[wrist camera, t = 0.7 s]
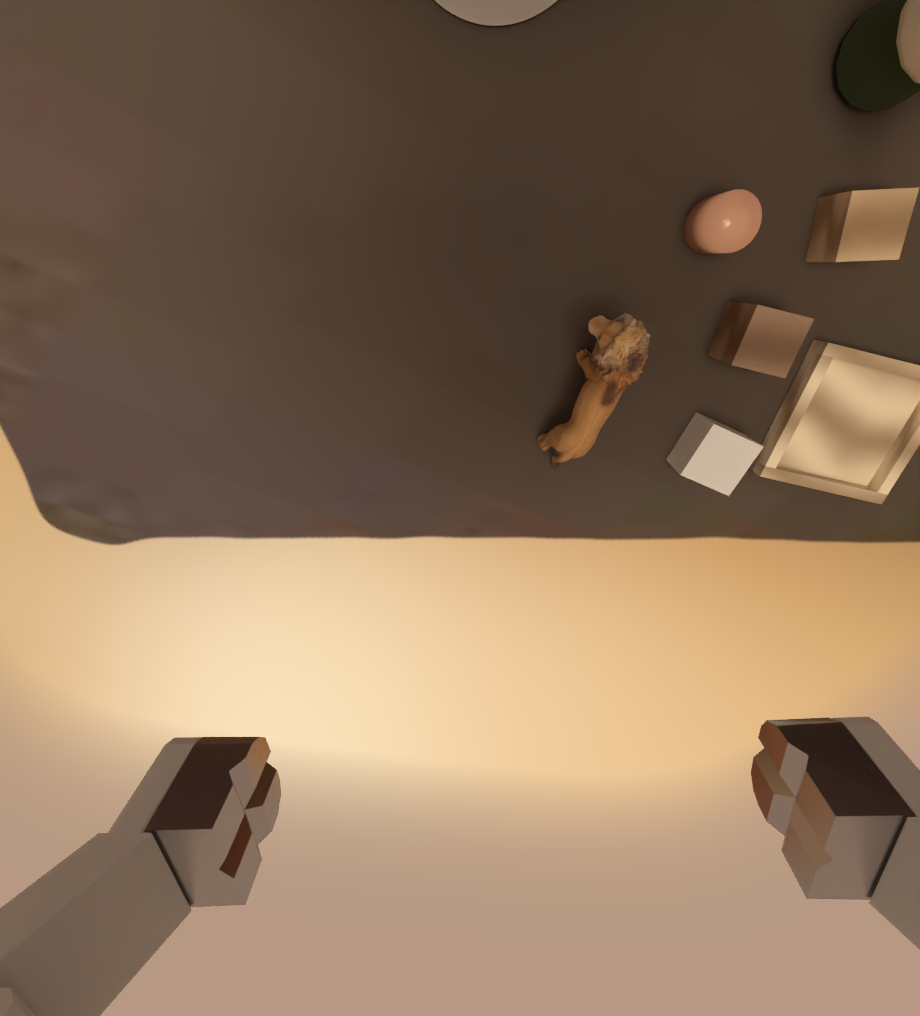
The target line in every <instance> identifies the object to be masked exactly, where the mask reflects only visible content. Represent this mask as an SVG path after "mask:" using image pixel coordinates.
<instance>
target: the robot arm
mask: <svg viewBox="0 0 920 1016" xmlns="http://www.w3.org/2000/svg"><path fill="white" fill-rule="evenodd" d="M435 1H436V2H437V3H438V4H439V5H440V6H442V7H443V8H444V9H446V10H447V11H449V12H450V13H452V14H454V15H455V16H457V17H459V18H462V19H464V20H466V21H469V22H472V23H476V24H481V25H488V26H501V25H509V24H514V23H518V22H521V21H524V20H527V19H529V18H532V17H534V16H536V15H538V14H539V13H541V12H543V11H544V10H546V9H547V8H549V7H550V6H551V5H553V4H554V3H555V2H556V1H558V0H435ZM758 738H759V739H760V741H761V743H762V745H763V746H764V749H763V750H762V751H760V752H759V753H758V754H757V755H756V756H754V758H753V764H752V769H751V776H752V784H753V790H754V793H755V796H756V799H757V802H758V805H759V807H760V809H761V811H762V813H763V815H764V817H765V819H766V821H767V822H768V823H769V824H771V825H772V826H773V827H774V828H776V829H777V830H778V831H779V832H781V833H782V834H783V835H784V842H783V847H782V852H783V854H784V856H785V858H786V860H787V862H788V864H789V865H790V867H791V869H792V871H793V873H794V875H795V877H796V879H797V881H798V882H799V885H800V886H801V888H802V890H803V892H804V894H805V896H806V898H807V899H808V898H809V899H810V898H811V899H813V898H814V899H861V900H863V899H864V900H870V902H869V903H870V904H871V905H872V906H873V907H874V908H875V909H876V910H877V911H878V912H879V913H881V914H882V915H883V916H884V917H885V918H886V919H887V920H888V921H889V922H890V923H891V924H893V925H894V926H895V927H896V928H897V929H898V930H899V931H900V932H901V933H902V934H903V935H905V936H906V937H907V938H908V939H909V940H910V941H911V942H912V943H913V944H914V945H916V946H917V947H918V948H919V949H920V770H919V769H918V768H917V767H916V766H915V764H914V763H913V762H912V761H911V760H910V759H909V758H908V756H907V755H906V754H905V753H904V752H903V751H902V750H901V749H900V747H899V746H898V745H897V744H896V743H895V742H894V741H893V739H892V738H891V737H890V736H889V735H888V734H887V733H886V731H885V730H884V729H883V728H882V727H881V726H880V725H879V724H878V723H877V722H876V721H874V720H873V719H871V718H869V717H852V718H851V717H849V718H832V719H831V718H811V719H788V720H767V721H766V722H765V723H764V724H763V725H762V726H761V729H760V733H759V737H758ZM269 754H270V749H269V746H268V743H267V742H266V738H262V737H202V738H201V737H199V738H197V737H196V738H174V739H172V740H171V741H170V742H168V743H167V744H166V745H165V746H164V747H163V749H162V750H161V752H160V753H159V755H158V756H157V758H156V759H155V761H154V763H153V764H152V766H151V767H150V769H149V770H148V772H147V773H146V775H145V776H144V778H143V780H142V781H141V783H140V784H139V786H138V787H137V789H136V790H135V792H134V793H133V795H132V796H131V798H130V800H129V801H128V803H127V804H126V806H125V807H124V809H123V810H122V812H121V813H120V815H119V816H118V818H117V819H116V821H115V823H114V824H113V826H112V827H111V829H110V830H109V832H108V833H99V834H97V835H96V836H95V837H93V838H92V839H91V840H89V841H88V842H87V843H85V844H84V845H83V846H81V847H80V848H79V849H77V850H76V851H75V852H73V853H72V854H71V855H70V856H68V857H67V858H66V859H64V860H63V861H62V862H60V863H59V864H58V865H57V866H55V867H54V868H53V869H51V870H50V871H49V872H47V873H46V874H45V875H43V876H42V877H41V878H39V879H38V880H37V881H36V882H34V883H33V884H32V885H30V886H29V887H28V888H26V889H25V890H24V891H23V892H21V893H20V894H18V895H17V896H16V897H15V898H13V899H12V900H11V901H9V902H8V903H7V904H5V905H4V906H3V907H1V908H0V1016H100V1015H101V1014H102V1013H103V1011H104V1010H105V1009H106V1008H107V1007H108V1006H109V1005H110V1003H111V1002H112V1001H113V1000H114V999H115V998H116V997H117V995H118V994H119V993H120V992H121V991H122V990H123V989H124V987H125V986H126V985H127V984H128V983H129V982H130V981H131V979H132V978H133V977H134V976H135V975H136V974H137V973H138V971H139V970H140V969H141V968H142V967H143V966H144V965H145V963H146V962H147V961H148V960H149V959H150V958H151V957H152V955H153V954H154V953H155V952H156V951H157V950H158V948H159V947H160V946H161V945H162V944H163V943H164V942H165V940H166V939H167V938H168V937H169V936H170V934H172V932H173V931H174V930H175V929H176V928H177V927H178V926H179V924H180V923H181V922H182V921H183V920H184V919H185V917H186V916H187V915H188V914H189V913H190V912H191V908H190V907H204V906H226V905H245V904H246V901H247V899H248V896H249V893H250V890H251V888H252V885H253V882H254V879H255V877H256V874H257V871H258V868H259V866H260V863H261V860H262V858H261V855H260V851H259V848H258V844H259V843H260V842H261V841H262V840H263V839H264V838H265V837H266V836H267V835H268V834H269V833H270V832H271V831H272V829H273V826H274V824H275V821H276V818H277V815H278V810H279V802H280V796H281V789H280V779H279V776H278V773H277V770H276V769H275V768H274V767H272V766H271V765H270V764H268V763H267V759H268V757H269Z"/></svg>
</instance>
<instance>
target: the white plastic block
mask: <svg viewBox="0 0 920 1016" xmlns="http://www.w3.org/2000/svg"><path fill="white" fill-rule="evenodd" d="M763 447H764V446H762V445H760V444H759V443H757V442H756V441H754V440H753V439H751V438H749V437H748V436H746V435H745V434H743V433H741V432H739V431H737V430H735V429H732V428H730V427H728V426H726V425H724V424H721V423H719V422H717V421H715V420H713V419H710V418H708V417H706V416H704V415H702V414H700V413H697V412H696V413H695V415H694V416H693V418H692V420H691V421H690V423H689V424H688V426H687V428H686V429H685V431H684V432H683V434H682V435H681V437H680V439H679V440H678V442H677V443H676V445H675V446H674V448H673V450H672V451H671V453H670V454H669V456H668V458H667V459H666V460H667V461H668V463H669V464H670V465H671V466H672V467H673V468H674V469H675V470H676V471H677V472H678V473H679V474H680V475H682V476H684V477H686V478H689V479H691V480H693V481H696V482H698V483H700V484H702V485H705V486H707V487H709V488H712V489H714V490H716V491H719V492H721V493H723V494H725V495H728V496H729V495H730V494H731V492H732V491H733V489H734V488H735V487H736V485H737V484H738V482H739V481H740V480H741V478H742V477H743V475H744V474H745V473H746V471H747V470H748V468H749V467H750V466H751V464H752V463H753V461H754V460H755V459H756V457H757V456H758V454H759V453H760V452H761V450H762V449H763Z"/></svg>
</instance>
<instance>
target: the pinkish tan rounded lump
mask: <svg viewBox="0 0 920 1016" xmlns="http://www.w3.org/2000/svg"><path fill="white" fill-rule="evenodd" d="M761 220H762V209H761V205H760V202H759V200H758V199H757V197H756V196H755V195H754V194H752V193H751V192H749V191H746V190H742V189H737V190H732V191H728V192H725V193H721V194H718V195H714V196H711V197H707V198H705V199H703V200H701V201H700V202H698V203H697V204H696V205H695V206H694V207H693V208H692V209H691V211H690V212H689V214H688V216H687V218H686V221H685V226H684V235H685V240H686V242H687V244H688V245H689V247H690V248H691V249H692V250H694V251H695V252H697V253H701V254H717V253H732V252H736V251H738V250H740V249H742V248H744V247H745V246H746V245H748V244H749V243H750V242H751V241H752V240H753V238H754V237H755V235H756V234H757V232H758V230H759V227H760V225H761Z"/></svg>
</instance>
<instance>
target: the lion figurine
mask: <svg viewBox="0 0 920 1016" xmlns="http://www.w3.org/2000/svg"><path fill="white" fill-rule="evenodd" d="M588 326H589V327H588V329H589V332H590V333H591V334H592V335H594V336H595V337H596V338H597V342H596V344H595V347H594V349H593V352H592V354H591V353H590V352H589V351H587V349H584V350H580V351H579V352H578V353H577V354H576V357H577V361H578V363H579V365H580V366H581V367H582V368H583V370H584V372H585V377H586V378H587V381H586V382H585V384H584V385H583V387H582V389H581V391H580V394H579V396H578V398H577V401H576V403H575V405H574V409H573V413H572V417H571V419H570V421H569V422H567V423H565V424H560V425H558V426H556V427H554V428H553V429H552V430H551V431H550V432H549V433H542V434H540V435H539V436H538V439H537V442H538V445H539V447H540V448H541V449H542V450H543V451H547V450H548V448H549V447H551V446H552V447H553V448H554V449H555V450H557V451H558V452H560V455H553V456H552V457H551V459H552V462H551V463H552V467H553V469H555V470H557V469H558V464H559V462H565V461H567V460H569V459H571V458H579V457H582V456H583V455H585V454H586V453H587V452H588V451H589V450H590V449H591V447H592V446H593V444H594V443H595V441H596V438H597V435H598V433H599V431H600V429H601V428H602V426H603V425H604V423H605V422H606V420H607V419H608V417H609V416H610V414H611V413H612V411H613V410H614V408H615V406H616V404H617V402H618V400H619V399H620V396H621V394H622V392H623V391H624V390H625V389H626V388H627V387H629V386H631V385H632V384H633V383H634V382H635V381H637V380H638V378H639V376H640V374H641V373H642V372H643V370H642V367H643V365H644V364H645V360H646V359H647V358H648V354H647V352H648V345H649V338H650V334H648V333H646V329H645V327H644V325H643V324H642V321H637V320H636V319H634V318H632V316H631V315H628V314H627V313H624V314H623V315H621V316H619V317H618V318H617V319H614V320H613V321H612V320H608V319H606V318H605V317H604V316H602V315H600V316H597V317H594V318H592V319H591V320H590V321H589V324H588Z"/></svg>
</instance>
